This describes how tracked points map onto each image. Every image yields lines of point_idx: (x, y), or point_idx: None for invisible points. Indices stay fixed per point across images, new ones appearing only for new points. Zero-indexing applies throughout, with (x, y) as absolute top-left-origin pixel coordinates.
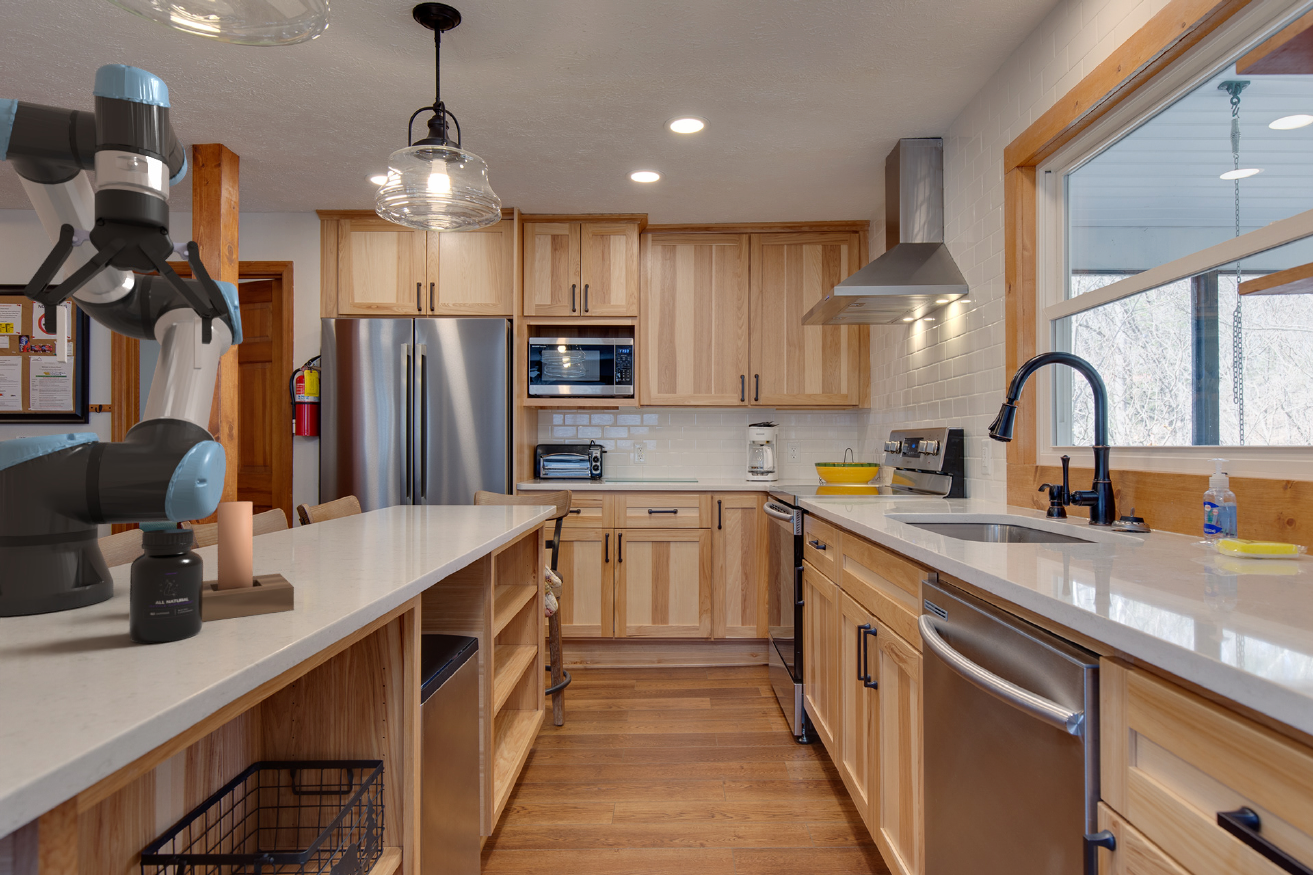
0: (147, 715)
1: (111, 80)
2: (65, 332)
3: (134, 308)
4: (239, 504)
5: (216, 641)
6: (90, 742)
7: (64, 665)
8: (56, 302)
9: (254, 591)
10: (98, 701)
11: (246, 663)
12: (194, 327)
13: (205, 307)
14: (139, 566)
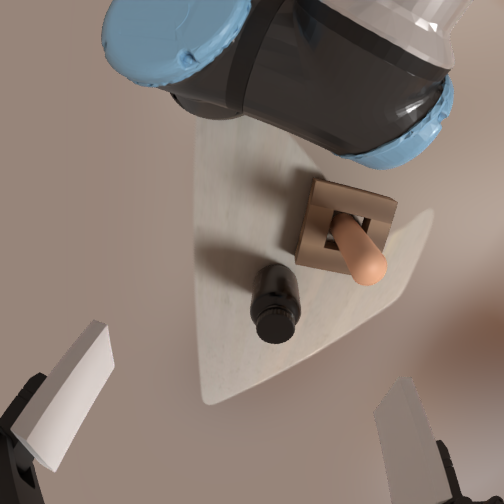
0: (238, 390)
1: None
2: (80, 411)
3: None
4: (365, 284)
5: None
6: (220, 397)
7: (217, 306)
8: (33, 468)
9: (345, 273)
10: (226, 368)
11: (287, 364)
12: (400, 496)
13: None
14: (253, 322)
